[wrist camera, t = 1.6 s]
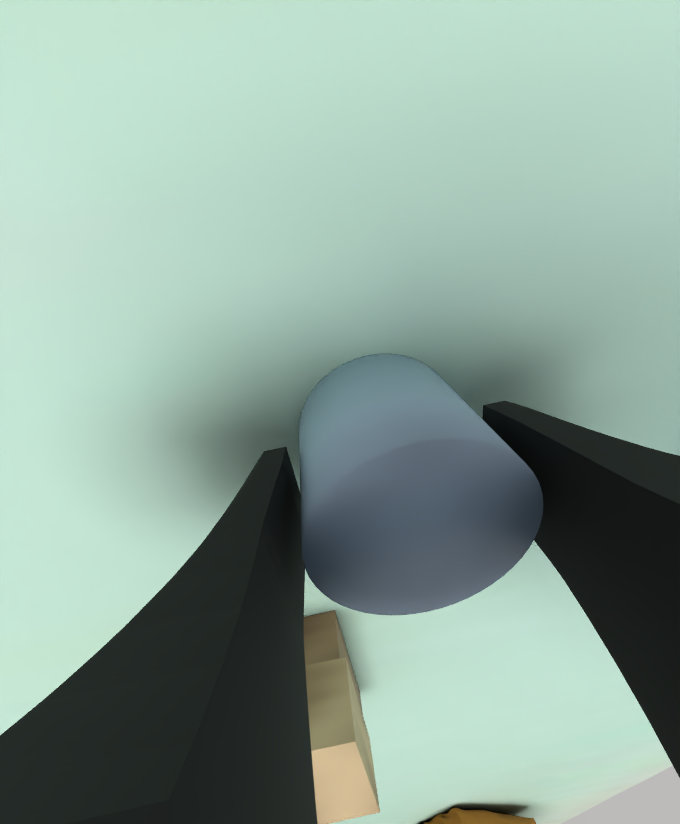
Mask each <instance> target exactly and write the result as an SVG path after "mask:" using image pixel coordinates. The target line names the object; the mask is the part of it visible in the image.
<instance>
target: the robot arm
mask: <svg viewBox="0 0 680 824" xmlns="http://www.w3.org/2000/svg"><path fill="white" fill-rule="evenodd" d="M483 420H484V421H485V422H486V423H487V425H488V426H489V427H490V428H491V429H492V430H493V431H494V432H495V433H496V434H497V435H498V436H499V437H500V438H501V439H502V440H503V441H504V442H505V443H506V444H507V445H508V446H509V447H510V448H511V449H512V450H513V451H514V452H515V453H516V454H517V455H518V456H519V457H520V458H521V459H522V460H523V461H524V462H525V463H526V464H527V465H528V466H529V468H530V469H531V470H532V471H533V472H534V474H535V476H536V478H537V480H538V481H539V484H540V487H541V490H542V494H543V516H542V520H541V523H540V527H539V529H538V532H537V534H536V536H535V539H534V541H535V542H536V543H537V545H538V546H539V547H540V548H541V550H542V551H543V552H544V554H545V555H546V556H547V557H548V559H549V560H550V561H551V563H552V564H553V565H554V567H555V568H556V569H557V571H558V572H559V574H560V575H561V576H562V578H563V579H564V581H565V582H566V584H567V585H568V587H569V588H570V590H571V592H572V593H573V595H574V596H575V598H576V599H577V601H578V602H579V604H580V606H581V607H582V609H583V610H584V612H585V613H586V615H587V616H588V618H589V620H590V621H591V623H592V625H593V626H594V628H595V630H596V631H597V633H598V634H599V636H600V638H601V639H602V641H603V643H604V644H605V646H606V648H607V649H608V651H609V653H610V654H611V656H612V657H613V659H614V661H615V662H616V664H617V666H618V668H619V669H620V671H621V673H622V675H623V676H624V678H625V680H626V682H627V683H628V685H629V687H630V688H631V690H632V692H633V694H634V695H635V697H636V699H637V701H638V702H639V704H640V706H641V708H642V709H643V711H644V713H645V715H646V716H647V718H648V720H649V722H650V724H651V725H652V727H653V729H654V731H655V733H656V735H657V737H658V738H659V740H660V742H661V744H662V746H663V748H664V750H665V751H666V753H667V755H668V757H669V759H670V761H671V763H672V764H673V766H674V768H675V770H676V772H677V773H678V776H679V777H680V456H677V455H673V454H669V453H665V452H662V451H658V450H654V449H651V448H647V447H644V446H640V445H637V444H634V443H631V442H627V441H624V440H621V439H617V438H614V437H611V436H608V435H605V434H602V433H599V432H596V431H593V430H590V429H587V428H584V427H581V426H578V425H575V424H572V423H569V422H566V421H564V420H561V419H558V418H555V417H552V416H550V415H547V414H544V413H541V412H538V411H535V410H533V409H530V408H527V407H524V406H521V405H517V404H514V403H511V402H507V401H502V402H497V403H492V404H488V405H483ZM304 582H305V566H304V562H303V558H302V532H301V494H300V491H299V488H298V484H297V481H296V478H295V475H294V471H293V468H292V465H291V461H290V458H289V455H288V452H287V448H286V447H283V448H278V449H273V450H268V451H264V453H263V454H262V455H261V457H260V459H259V460H258V462H257V463H256V465H255V467H254V468H253V470H252V471H251V473H250V475H249V476H248V478H247V479H246V481H245V483H244V484H243V486H242V487H241V489H240V490H239V492H238V493H237V495H236V496H235V498H234V500H233V501H232V503H231V504H230V506H229V507H228V509H227V510H226V511H225V513H224V514H223V516H222V517H221V518H220V520H219V521H218V522H217V524H216V525H215V526H214V528H213V529H212V531H211V532H210V533H209V535H208V536H207V537H206V539H205V540H204V541H203V542H202V544H201V545H200V546H199V547H198V549H197V550H196V551H195V552H194V553H193V555H192V556H191V557H190V558H189V559H188V560H187V562H186V563H185V564H184V565H183V566H182V567H181V568H180V570H179V571H178V572H177V573H176V574H175V575H174V576H173V577H172V579H171V580H170V581H169V582H168V583H167V584H166V585H165V586H164V587H163V588H162V589H161V590H160V591H159V592H158V593H157V594H156V595H155V596H154V597H153V598H152V599H151V600H150V601H149V602H148V603H147V604H146V605H145V606H144V607H143V608H142V609H141V611H140V612H139V613H138V614H137V615H136V616H135V617H134V618H133V619H132V620H131V621H130V622H129V623H128V624H127V625H126V626H125V627H124V628H123V629H122V630H121V631H120V632H118V633H117V634H116V635H115V636H114V637H113V638H112V639H111V640H110V641H109V642H108V643H107V644H106V645H105V646H103V647H102V648H101V649H100V650H99V651H98V652H97V653H96V654H95V655H94V656H93V657H92V658H90V659H89V660H88V661H87V662H86V663H85V664H84V665H83V666H82V667H80V668H79V669H78V670H77V671H76V672H75V673H74V674H73V675H71V676H70V677H69V678H68V679H67V680H66V681H65V682H64V683H62V684H61V685H60V686H59V687H58V688H57V689H56V690H54V691H53V692H52V693H51V694H50V695H49V696H47V697H46V698H45V699H44V700H43V701H42V702H40V703H39V704H38V705H37V706H36V707H34V708H33V709H32V710H31V711H30V712H28V713H27V714H26V715H25V716H23V717H22V718H21V719H20V720H19V721H17V722H16V723H15V724H14V725H13V726H11V727H10V728H9V729H8V730H6V731H5V732H4V733H3V734H2V735H0V824H318V822H317V812H316V801H315V789H314V777H313V764H312V752H311V740H310V726H309V712H308V698H307V684H306V668H305V651H304V619H303V617H304Z"/></svg>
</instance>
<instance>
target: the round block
mask: <svg viewBox="0 0 680 824" xmlns="http://www.w3.org/2000/svg"><path fill="white" fill-rule="evenodd" d="M299 446H300V489H301V532H302V558H303V562H304V566H305V569H306V571H307V573H308V576H309V578H310V579H311V580H312V582H313V583H314V585H315V586H316V587H317V588H318V589H319V590H320V591H321V592H322V593H323V594H324V595H326V596H327V597H328V598H330V599H331V600H333V601H335V602H337V603H338V604H340V605H342V606H345V607H348V608H350V609H353V610H357V611H361V612H364V613H371V614H378V615H407V614H416V613H421V612H427V611H431V610H435V609H439V608H443V607H446V606H449V605H452V604H455V603H457V602H459V601H462V600H464V599H466V598H469V597H471V596H473V595H474V594H476V593H478V592H480V591H482V590H483V589H485V588H487V587H488V586H490V585H492V584H493V583H494V582H496V581H497V580H498V579H500V578H501V577H502V576H504V575H505V574H506V573H507V572H508V571H509V570H510V569H511V568H513V566H514V565H515V564H516V563H517V562H518V561H519V560H520V559H521V558H522V557H523V555H524V554H525V553H526V551H527V550H528V549H529V547H530V545H531V544H532V542H533V540H534V539H535V536H536V534H537V532H538V529H539V527H540V523H541V520H542V516H543V494H542V490H541V487H540V484H539V481H538V480H537V478H536V476H535V474H534V472H533V471H532V470H531V469H530V468H529V466H528V465H527V464H526V463H525V462H524V461H523V460H522V459H521V458H520V457H519V456H518V455H517V454H516V453H515V452H514V451H513V450H512V449H511V448H510V447H509V446H508V445H507V444H506V443H505V442H504V441H503V440H502V439H501V438H500V437H499V436H498V435H497V434H496V433H495V432H494V431H493V430H492V429H491V428H490V427H489V426H488V425H487V423H486V422H485V421H484V420H483V419H482V418H481V417H480V416H479V415H478V414H477V413H476V412H475V411H474V410H473V409H472V408H471V407H470V406H469V405H468V404H467V403H466V402H465V401H464V400H463V399H462V398H461V397H460V396H459V395H458V394H457V393H456V392H455V391H454V390H453V389H452V388H451V387H450V386H449V385H448V384H447V383H446V382H445V381H444V380H443V379H442V378H441V377H440V376H439V375H438V374H437V373H436V372H435V371H434V370H432V369H431V368H430V367H429V366H427V365H425V364H424V363H422V362H420V361H418V360H416V359H413V358H410V357H407V356H403V355H396V354H375V355H368V356H364V357H360V358H357V359H354V360H352V361H349V362H347V363H345V364H343V365H341V366H339V367H337V368H336V369H334V370H333V371H332V372H330V373H329V374H328V375H326V376H325V377H324V378H323V379H322V380H321V381H320V382H319V383H318V384H317V385H316V387H315V388H314V389H313V390H312V392H311V393H310V395H309V397H308V398H307V400H306V402H305V405H304V407H303V409H302V413H301V417H300V424H299Z"/></svg>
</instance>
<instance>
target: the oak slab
mask: <svg viewBox="0 0 680 824" xmlns="http://www.w3.org/2000/svg"><path fill="white" fill-rule="evenodd" d="M305 668H306V684H307V698H308V712H309V726H310V740H311V752H312V764H313V777H314V789H315V801H316V812H317V822H318V824H329V823H333V822H338V821H342V820H347V819H351V818H356V817H360V816H365V815H369V814H374V813H378V812H380V809H379V802H378V795H377V788H376V781H375V774H374V767H373V760H372V753H371V746H370V739H369V735H368V732H367V728H366V725H365V721H364V718H363V715H362V711H361V708H360V704H359V701H358V698H357V694H356V691H355V687H354V684H353V680H352V677H351V674H350V670H349V667H348V663H347V660H346V657H344V658H339V659H335V660H330V661H325V662H321V663H316V664H311V665H306V666H305Z"/></svg>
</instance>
